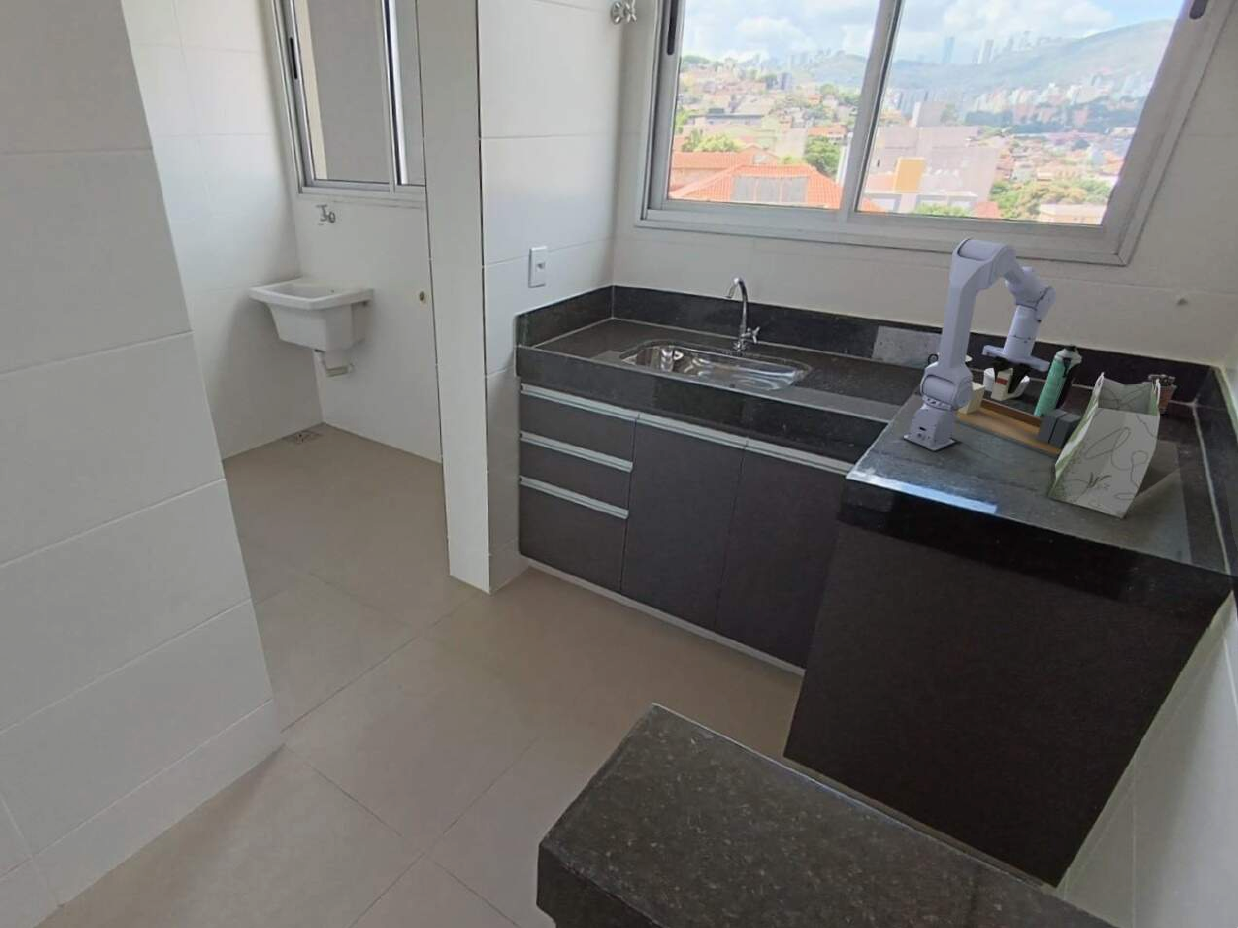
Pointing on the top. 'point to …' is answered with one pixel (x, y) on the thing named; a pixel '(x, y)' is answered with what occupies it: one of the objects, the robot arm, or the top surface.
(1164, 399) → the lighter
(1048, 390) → the spray can
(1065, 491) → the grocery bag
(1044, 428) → the grey book
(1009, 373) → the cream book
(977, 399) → the cream rectangular block
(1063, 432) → the grey book
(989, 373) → the ramekin
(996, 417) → the shelf board
